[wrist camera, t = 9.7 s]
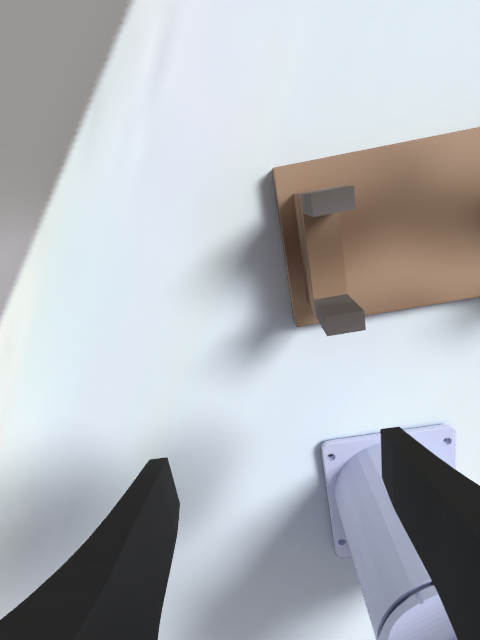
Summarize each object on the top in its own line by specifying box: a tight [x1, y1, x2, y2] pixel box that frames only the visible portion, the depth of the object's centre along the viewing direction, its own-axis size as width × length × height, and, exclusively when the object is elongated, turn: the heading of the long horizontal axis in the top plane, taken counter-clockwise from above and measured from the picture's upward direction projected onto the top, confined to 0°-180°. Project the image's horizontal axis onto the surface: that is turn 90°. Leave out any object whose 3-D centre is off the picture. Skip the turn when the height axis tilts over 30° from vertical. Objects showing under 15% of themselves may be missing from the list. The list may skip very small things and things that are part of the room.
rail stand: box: [272, 127, 480, 336], centre depth 16 cm, size 8×15×6 cm, turn 100°
